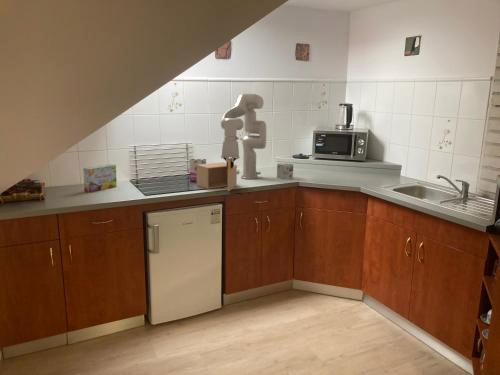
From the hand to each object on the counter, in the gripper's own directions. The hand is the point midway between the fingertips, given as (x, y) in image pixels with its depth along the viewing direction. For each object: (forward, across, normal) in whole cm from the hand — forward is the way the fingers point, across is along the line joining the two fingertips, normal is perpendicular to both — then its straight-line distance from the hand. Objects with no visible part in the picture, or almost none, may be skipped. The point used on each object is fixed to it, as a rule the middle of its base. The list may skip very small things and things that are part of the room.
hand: (230, 167), depth 268 cm
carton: (+15, +13, -15) cm, 25 cm away
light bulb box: (+15, -30, -53) cm, 63 cm away
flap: (+15, 0, -8) cm, 17 cm away
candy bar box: (+15, +29, -24) cm, 40 cm away
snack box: (+16, +81, +15) cm, 84 cm away
